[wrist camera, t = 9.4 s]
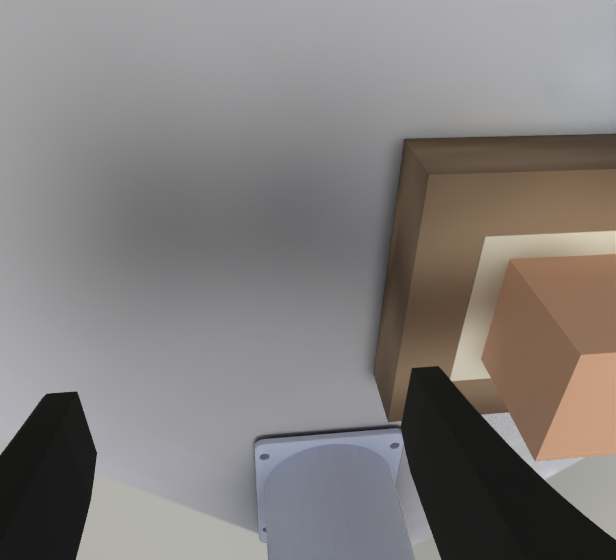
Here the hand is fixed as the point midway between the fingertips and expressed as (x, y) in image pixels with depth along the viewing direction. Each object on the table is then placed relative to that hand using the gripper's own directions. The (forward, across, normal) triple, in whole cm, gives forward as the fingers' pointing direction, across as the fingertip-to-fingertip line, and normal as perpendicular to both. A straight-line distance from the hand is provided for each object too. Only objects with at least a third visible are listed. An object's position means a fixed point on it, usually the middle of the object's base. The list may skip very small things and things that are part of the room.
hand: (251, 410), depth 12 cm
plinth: (+10, -12, +4) cm, 16 cm away
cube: (+7, -12, +4) cm, 15 cm away
